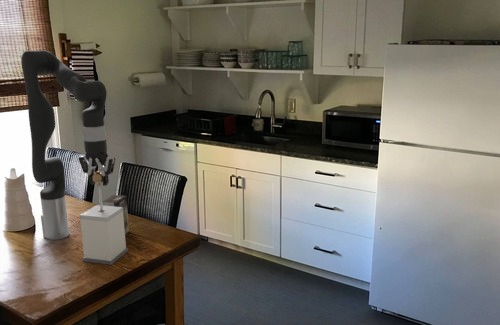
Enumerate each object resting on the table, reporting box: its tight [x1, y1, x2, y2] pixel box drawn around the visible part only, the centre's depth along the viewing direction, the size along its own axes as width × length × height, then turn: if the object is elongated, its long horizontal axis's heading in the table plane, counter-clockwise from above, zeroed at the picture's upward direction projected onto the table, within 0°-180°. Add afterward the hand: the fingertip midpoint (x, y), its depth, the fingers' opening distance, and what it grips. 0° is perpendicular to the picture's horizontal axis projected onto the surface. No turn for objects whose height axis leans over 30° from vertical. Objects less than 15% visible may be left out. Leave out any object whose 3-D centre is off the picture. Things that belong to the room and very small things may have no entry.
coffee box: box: [102, 194, 130, 235], centre depth 195 cm, size 9×6×16 cm
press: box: [79, 204, 129, 266], centre depth 177 cm, size 12×15×18 cm
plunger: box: [92, 170, 103, 212], centre depth 172 cm, size 4×4×20 cm
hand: (99, 184), depth 170 cm, fingers closed on plunger, 4 cm apart
